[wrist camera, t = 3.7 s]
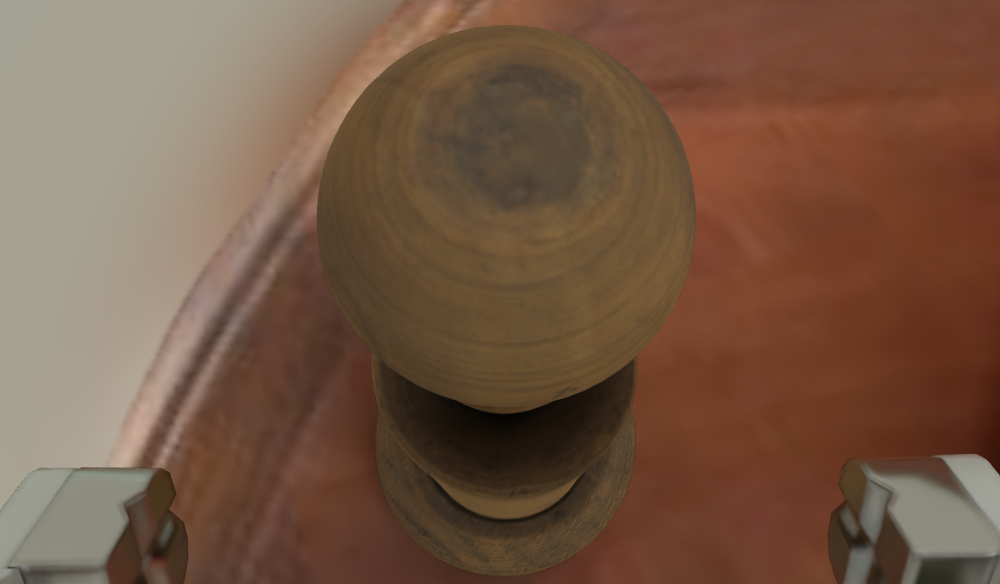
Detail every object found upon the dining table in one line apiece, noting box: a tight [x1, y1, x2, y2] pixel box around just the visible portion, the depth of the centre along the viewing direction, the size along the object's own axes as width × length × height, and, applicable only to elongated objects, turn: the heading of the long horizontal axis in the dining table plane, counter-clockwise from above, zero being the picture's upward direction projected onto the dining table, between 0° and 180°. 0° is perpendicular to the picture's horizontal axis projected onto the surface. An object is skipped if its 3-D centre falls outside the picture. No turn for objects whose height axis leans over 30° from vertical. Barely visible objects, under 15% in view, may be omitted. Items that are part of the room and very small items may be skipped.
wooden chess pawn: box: [317, 25, 696, 576], centre depth 14 cm, size 7×6×18 cm
